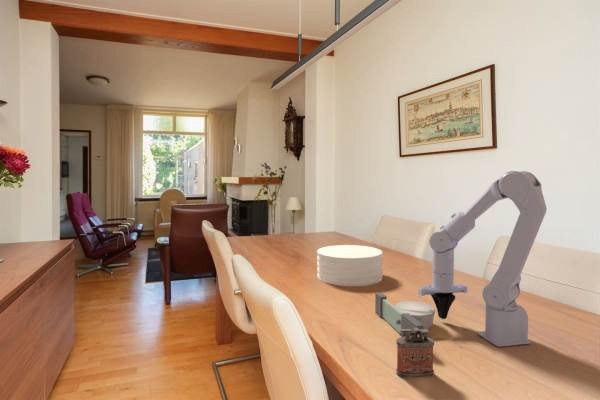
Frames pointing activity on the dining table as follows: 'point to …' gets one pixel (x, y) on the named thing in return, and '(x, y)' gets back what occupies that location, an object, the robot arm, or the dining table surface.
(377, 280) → the plate stack
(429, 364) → the lighter
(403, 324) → the grey angled pieces
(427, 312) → the ramekin
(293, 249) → the dining table surface
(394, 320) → the door
